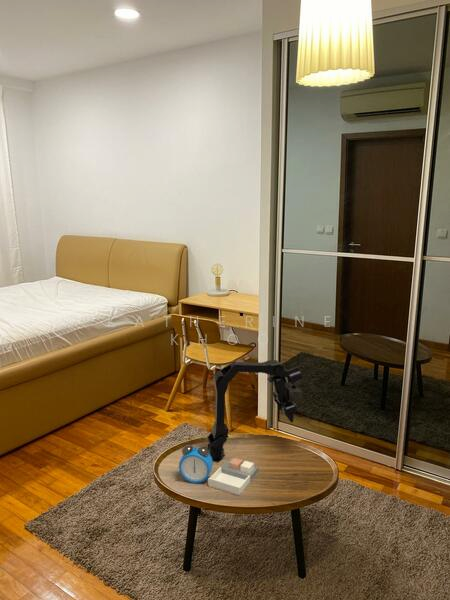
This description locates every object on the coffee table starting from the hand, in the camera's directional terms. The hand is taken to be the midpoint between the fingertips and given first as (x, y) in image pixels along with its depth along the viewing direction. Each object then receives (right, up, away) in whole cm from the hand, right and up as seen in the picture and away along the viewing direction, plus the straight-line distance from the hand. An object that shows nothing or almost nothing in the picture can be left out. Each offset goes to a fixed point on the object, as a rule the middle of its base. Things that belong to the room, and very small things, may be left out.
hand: (288, 417), depth 210 cm
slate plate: (-23, -19, -16) cm, 34 cm away
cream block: (-20, -17, -18) cm, 32 cm away
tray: (-27, -21, -23) cm, 42 cm away
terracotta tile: (-25, -17, -15) cm, 34 cm away
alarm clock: (-41, -21, -20) cm, 50 cm away
